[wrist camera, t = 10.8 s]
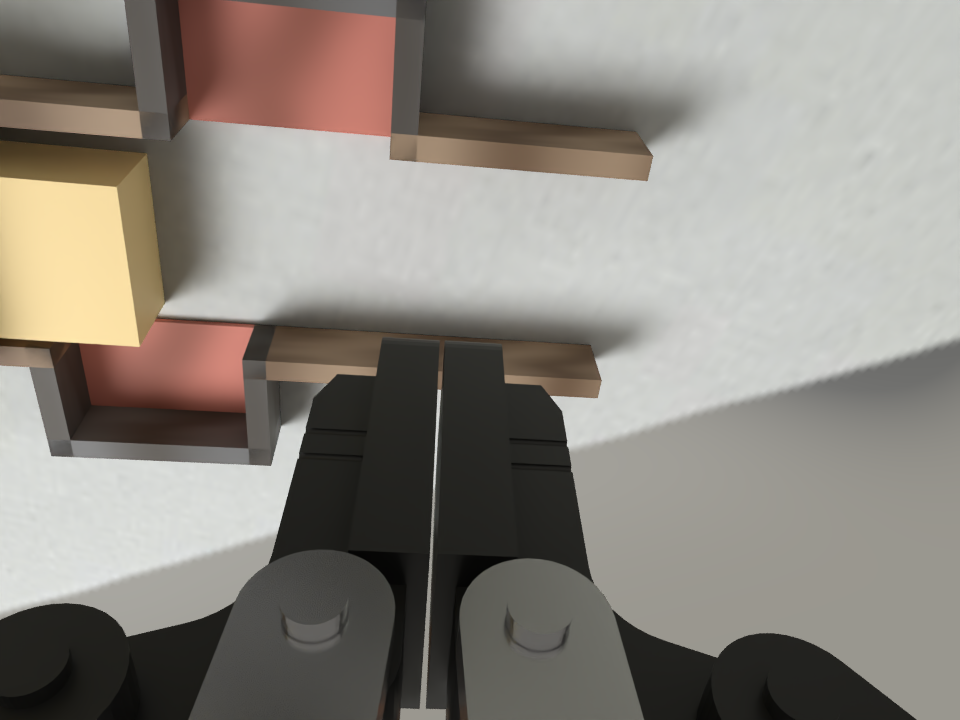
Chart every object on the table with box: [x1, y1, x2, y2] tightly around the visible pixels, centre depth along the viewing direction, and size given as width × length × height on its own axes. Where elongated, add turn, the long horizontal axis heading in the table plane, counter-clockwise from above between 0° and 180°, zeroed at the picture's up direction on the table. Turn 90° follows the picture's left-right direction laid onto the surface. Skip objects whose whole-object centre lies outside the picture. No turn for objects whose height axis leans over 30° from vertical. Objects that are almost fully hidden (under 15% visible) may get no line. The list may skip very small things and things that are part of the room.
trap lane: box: [0, 0, 653, 466], centre depth 31 cm, size 28×22×7 cm
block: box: [0, 140, 165, 347], centre depth 32 cm, size 7×7×4 cm
